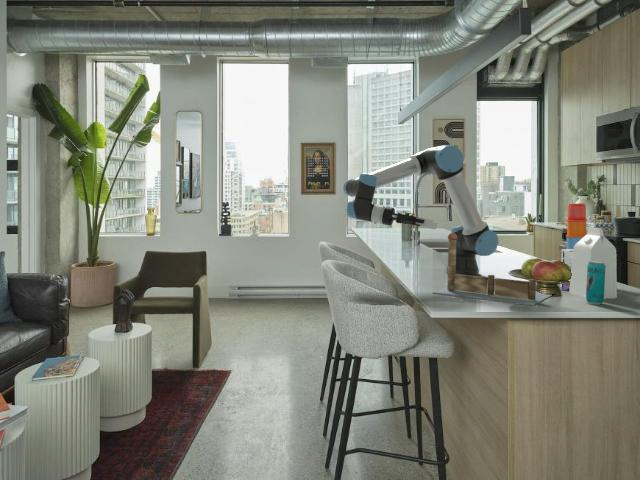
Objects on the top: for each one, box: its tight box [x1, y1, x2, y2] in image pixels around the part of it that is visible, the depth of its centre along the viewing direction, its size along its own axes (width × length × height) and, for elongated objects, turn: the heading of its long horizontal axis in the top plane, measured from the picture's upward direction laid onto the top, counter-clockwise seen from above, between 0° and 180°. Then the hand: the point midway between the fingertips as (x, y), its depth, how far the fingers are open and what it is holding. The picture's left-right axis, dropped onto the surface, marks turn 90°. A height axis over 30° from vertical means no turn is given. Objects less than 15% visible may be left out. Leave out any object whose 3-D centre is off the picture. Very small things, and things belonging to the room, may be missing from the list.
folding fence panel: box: [446, 232, 488, 294], centre depth 213 cm, size 16×4×22 cm, turn 52°
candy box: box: [560, 248, 573, 291], centre depth 222 cm, size 14×6×16 cm, turn 71°
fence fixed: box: [487, 274, 537, 300], centre depth 203 cm, size 2×18×7 cm, turn 52°
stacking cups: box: [565, 203, 588, 249], centre depth 238 cm, size 10×10×35 cm
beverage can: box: [585, 261, 606, 306], centre depth 195 cm, size 6×6×15 cm
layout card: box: [432, 285, 552, 306], centre depth 214 cm, size 28×38×1 cm
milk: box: [568, 226, 618, 300], centre depth 209 cm, size 12×12×26 cm
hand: (434, 225), depth 221 cm, fingers open, 13 cm apart
